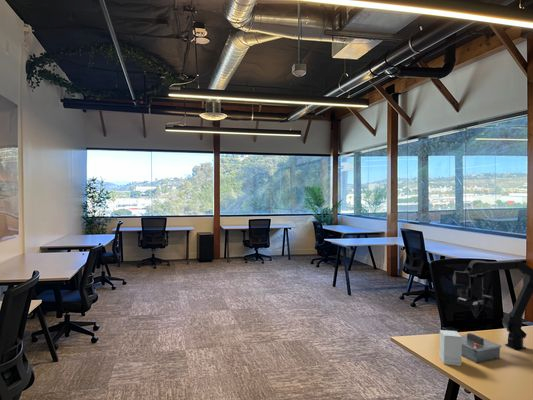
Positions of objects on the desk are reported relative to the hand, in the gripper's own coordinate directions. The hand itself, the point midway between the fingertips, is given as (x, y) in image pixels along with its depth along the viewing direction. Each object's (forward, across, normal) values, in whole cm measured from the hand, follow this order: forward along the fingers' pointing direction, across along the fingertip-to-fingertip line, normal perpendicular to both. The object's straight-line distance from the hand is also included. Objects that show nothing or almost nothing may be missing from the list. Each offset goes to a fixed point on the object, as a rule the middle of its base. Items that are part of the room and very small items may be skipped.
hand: (475, 317), depth 182 cm
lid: (+8, +12, +10) cm, 17 cm away
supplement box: (+13, +29, +12) cm, 34 cm away
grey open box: (+13, +12, +10) cm, 20 cm away
